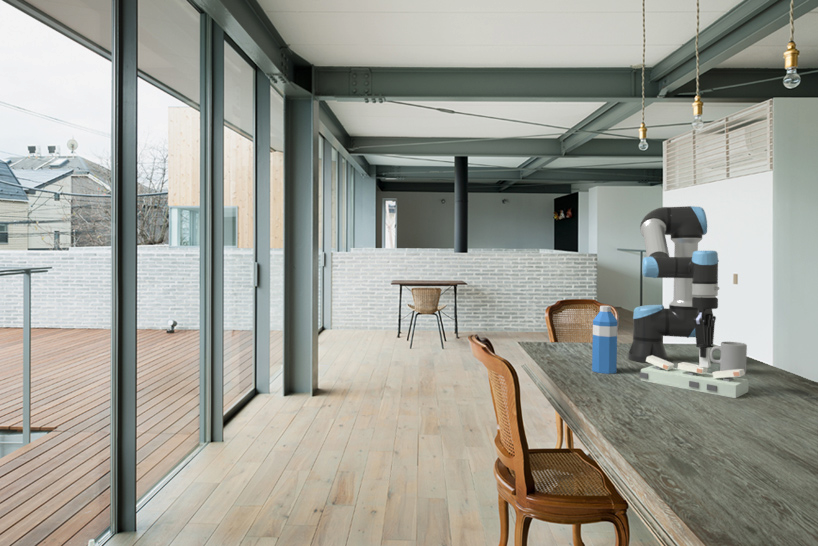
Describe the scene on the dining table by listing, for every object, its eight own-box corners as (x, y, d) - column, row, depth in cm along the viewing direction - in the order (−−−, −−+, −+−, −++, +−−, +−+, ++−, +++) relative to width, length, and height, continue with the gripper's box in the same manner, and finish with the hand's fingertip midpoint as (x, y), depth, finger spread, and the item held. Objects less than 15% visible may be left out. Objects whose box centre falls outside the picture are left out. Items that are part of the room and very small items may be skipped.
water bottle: (621, 373, 195) (622, 307, 194) (596, 373, 195) (597, 307, 194) (612, 368, 204) (613, 305, 203) (588, 368, 204) (589, 305, 204)
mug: (744, 370, 201) (745, 342, 200) (747, 375, 193) (748, 346, 193) (708, 367, 206) (709, 340, 206) (710, 372, 199) (711, 343, 198)
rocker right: (713, 378, 170) (712, 372, 171) (718, 376, 173) (717, 370, 173) (740, 376, 164) (738, 370, 165) (745, 374, 167) (743, 368, 168)
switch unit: (639, 380, 185) (639, 367, 185) (655, 375, 193) (655, 362, 193) (735, 398, 162) (735, 383, 162) (748, 391, 170) (748, 377, 170)
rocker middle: (677, 368, 179) (677, 363, 179) (682, 366, 182) (683, 361, 182) (702, 374, 173) (702, 368, 173) (707, 372, 176) (707, 366, 176)
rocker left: (645, 361, 187) (646, 356, 187) (651, 359, 190) (652, 355, 190) (667, 370, 181) (668, 365, 181) (672, 368, 184) (674, 363, 184)
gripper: (709, 297, 167) (709, 371, 167) (724, 296, 175) (724, 365, 176) (684, 296, 172) (684, 367, 172) (700, 295, 181) (700, 362, 181)
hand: (704, 366), depth 174 cm, fingers closed
